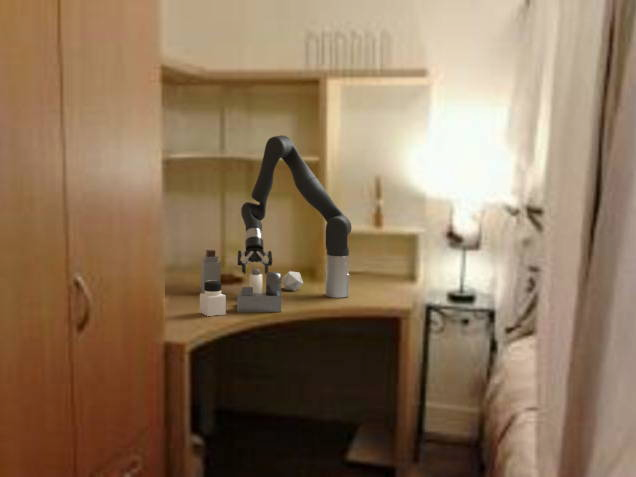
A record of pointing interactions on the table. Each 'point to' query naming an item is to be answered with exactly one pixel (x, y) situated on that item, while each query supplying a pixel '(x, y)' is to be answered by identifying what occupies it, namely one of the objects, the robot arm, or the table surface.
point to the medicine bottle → (212, 299)
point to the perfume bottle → (210, 268)
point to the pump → (256, 281)
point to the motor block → (262, 296)
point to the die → (292, 281)
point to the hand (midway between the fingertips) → (255, 272)
